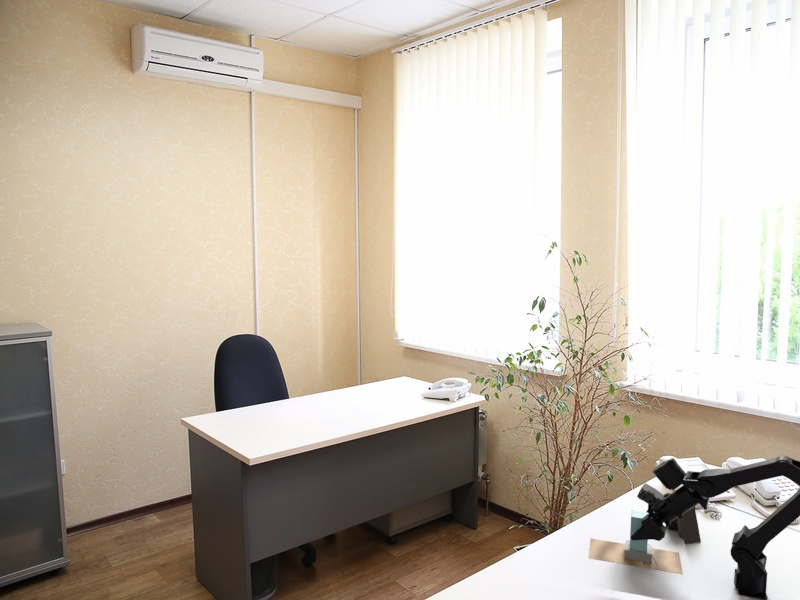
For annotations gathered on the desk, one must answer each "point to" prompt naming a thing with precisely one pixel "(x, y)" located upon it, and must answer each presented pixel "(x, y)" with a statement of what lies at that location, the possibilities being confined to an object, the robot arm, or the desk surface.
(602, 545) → the oak board
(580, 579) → the desk surface
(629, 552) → the block
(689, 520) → the phone stand
